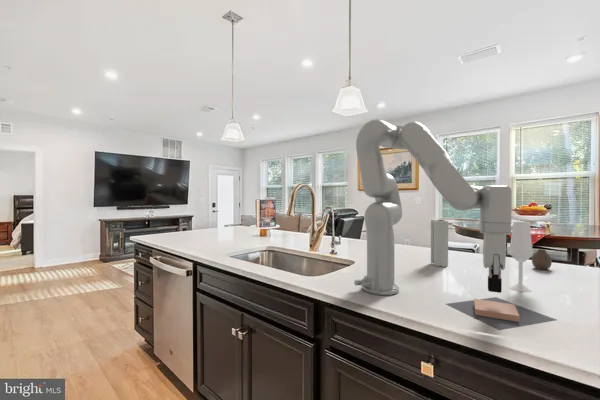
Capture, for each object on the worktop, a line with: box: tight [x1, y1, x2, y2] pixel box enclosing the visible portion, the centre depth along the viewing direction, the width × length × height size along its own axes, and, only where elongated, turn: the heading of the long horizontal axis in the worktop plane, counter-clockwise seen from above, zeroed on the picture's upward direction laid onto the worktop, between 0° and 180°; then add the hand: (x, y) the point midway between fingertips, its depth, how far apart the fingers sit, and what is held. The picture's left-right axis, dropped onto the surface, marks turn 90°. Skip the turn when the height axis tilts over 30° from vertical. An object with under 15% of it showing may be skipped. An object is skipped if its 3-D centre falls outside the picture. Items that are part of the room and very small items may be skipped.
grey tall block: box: [430, 219, 449, 267], centre depth 141 cm, size 7×6×21 cm
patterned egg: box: [531, 248, 552, 271], centre depth 134 cm, size 7×7×9 cm
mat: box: [445, 296, 557, 331], centre depth 86 cm, size 20×18×1 cm
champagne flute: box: [508, 220, 534, 293], centre depth 106 cm, size 7×7×24 cm
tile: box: [473, 298, 519, 322], centre depth 84 cm, size 10×2×9 cm
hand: (494, 291), depth 86 cm, fingers closed
